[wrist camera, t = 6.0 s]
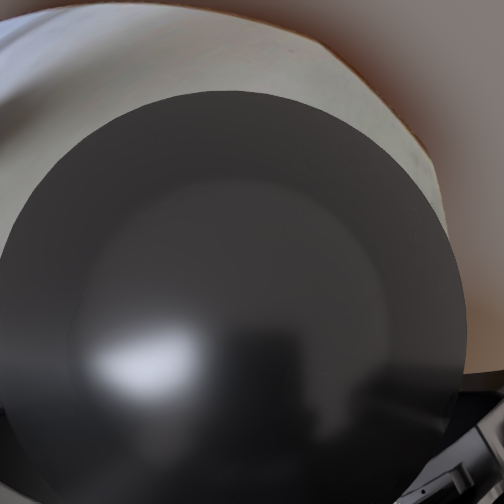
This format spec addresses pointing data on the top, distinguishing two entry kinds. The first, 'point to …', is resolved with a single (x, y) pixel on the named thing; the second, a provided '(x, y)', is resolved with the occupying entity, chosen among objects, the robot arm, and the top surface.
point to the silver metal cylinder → (229, 312)
